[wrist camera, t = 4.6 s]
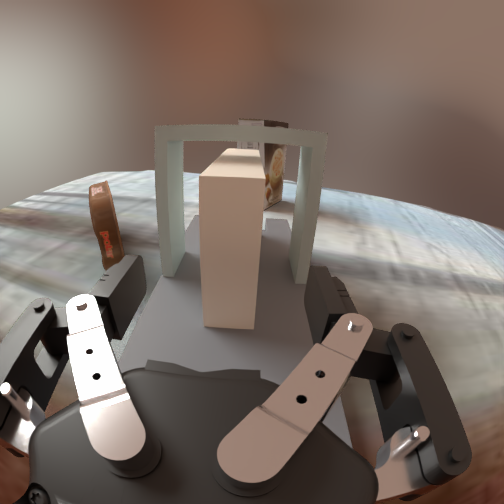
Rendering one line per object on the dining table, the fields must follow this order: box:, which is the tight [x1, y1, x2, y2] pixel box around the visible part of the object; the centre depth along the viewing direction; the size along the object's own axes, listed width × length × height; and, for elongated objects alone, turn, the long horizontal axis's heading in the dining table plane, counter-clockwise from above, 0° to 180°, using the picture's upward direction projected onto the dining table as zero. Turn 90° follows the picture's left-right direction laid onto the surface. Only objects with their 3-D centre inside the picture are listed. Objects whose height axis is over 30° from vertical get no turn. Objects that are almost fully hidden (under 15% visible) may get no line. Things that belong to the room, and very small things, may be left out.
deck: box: [118, 215, 353, 449], centre depth 21 cm, size 13×39×2 cm, turn 0°
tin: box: [89, 181, 125, 271], centre depth 29 cm, size 15×3×8 cm, turn 33°
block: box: [199, 149, 266, 329], centre depth 23 cm, size 3×17×10 cm, turn 0°
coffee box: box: [237, 119, 288, 210], centre depth 49 cm, size 9×6×16 cm
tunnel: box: [155, 125, 328, 284], centre depth 23 cm, size 13×5×13 cm, turn 90°
